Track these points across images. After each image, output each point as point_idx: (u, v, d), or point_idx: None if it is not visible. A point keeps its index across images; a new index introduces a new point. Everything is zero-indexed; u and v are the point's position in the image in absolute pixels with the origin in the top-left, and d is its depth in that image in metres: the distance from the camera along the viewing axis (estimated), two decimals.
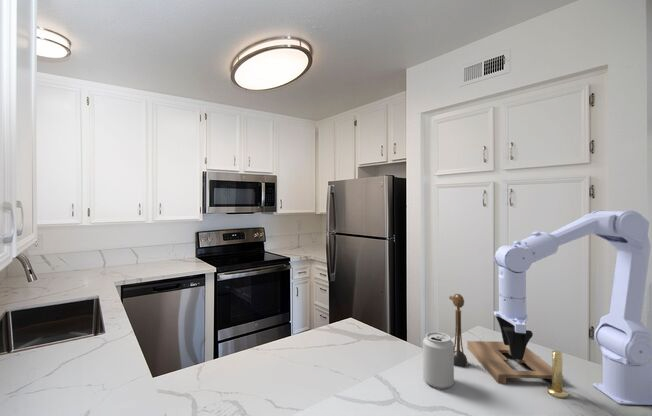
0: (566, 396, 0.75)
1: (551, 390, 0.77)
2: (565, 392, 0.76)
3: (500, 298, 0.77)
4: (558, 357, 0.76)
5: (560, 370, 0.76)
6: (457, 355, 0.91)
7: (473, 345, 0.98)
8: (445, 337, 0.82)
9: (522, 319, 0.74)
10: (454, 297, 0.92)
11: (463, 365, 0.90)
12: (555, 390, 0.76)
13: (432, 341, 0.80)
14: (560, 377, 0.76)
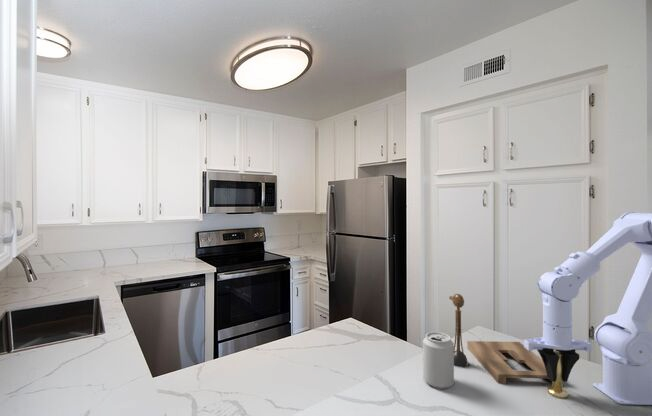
0: (566, 396, 0.75)
1: (551, 390, 0.77)
2: (565, 392, 0.76)
3: None
4: None
5: (560, 370, 0.76)
6: (457, 355, 0.91)
7: (473, 345, 0.98)
8: (445, 337, 0.82)
9: (549, 345, 0.75)
10: (454, 297, 0.92)
11: (463, 365, 0.90)
12: (555, 390, 0.76)
13: (432, 341, 0.80)
14: (560, 377, 0.76)
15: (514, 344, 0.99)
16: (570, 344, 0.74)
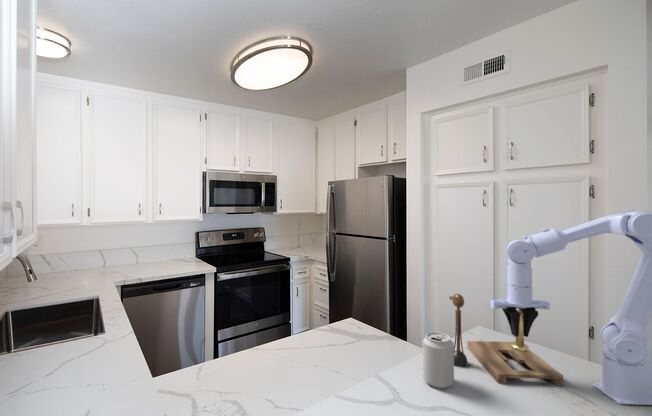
0: (527, 349, 0.84)
1: (514, 345, 0.85)
2: (526, 346, 0.85)
3: None
4: (520, 315, 0.85)
5: (522, 327, 0.85)
6: (457, 355, 0.91)
7: (473, 345, 0.98)
8: (445, 337, 0.82)
9: None
10: (454, 297, 0.92)
11: (463, 365, 0.90)
12: (518, 345, 0.85)
13: (432, 341, 0.80)
14: (522, 333, 0.85)
15: None
16: (530, 302, 0.83)
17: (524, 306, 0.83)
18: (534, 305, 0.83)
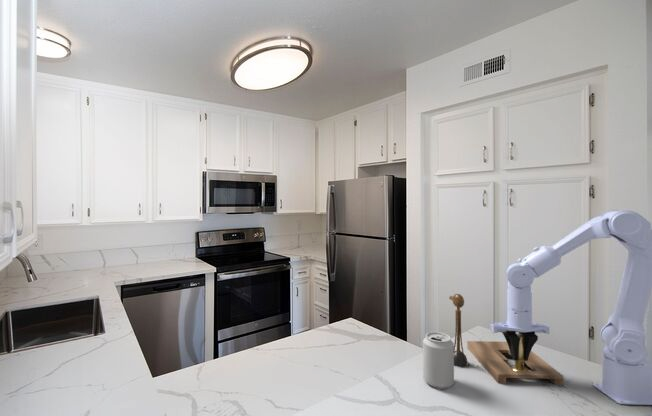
0: None
1: (514, 369, 0.86)
2: (526, 370, 0.85)
3: None
4: (520, 339, 0.85)
5: (522, 351, 0.85)
6: (457, 355, 0.91)
7: (473, 345, 0.98)
8: (445, 337, 0.82)
9: None
10: (454, 297, 0.92)
11: (463, 365, 0.90)
12: (518, 369, 0.85)
13: (432, 341, 0.80)
14: (522, 357, 0.85)
15: None
16: (529, 327, 0.83)
17: (524, 331, 0.83)
18: (534, 329, 0.83)
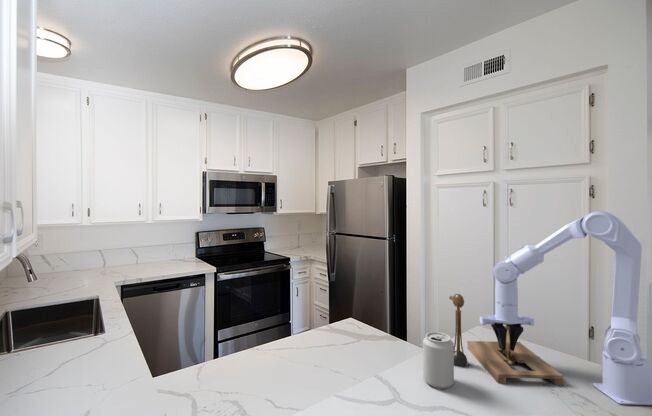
0: (513, 362, 0.91)
1: None
2: (512, 360, 0.91)
3: None
4: (507, 330, 0.91)
5: (509, 341, 0.91)
6: (457, 355, 0.91)
7: (473, 345, 0.98)
8: (445, 337, 0.82)
9: (499, 320, 0.91)
10: (454, 297, 0.92)
11: (463, 365, 0.90)
12: None
13: (432, 341, 0.80)
14: (509, 347, 0.91)
15: None
16: (516, 319, 0.90)
17: (510, 323, 0.90)
18: (519, 321, 0.90)
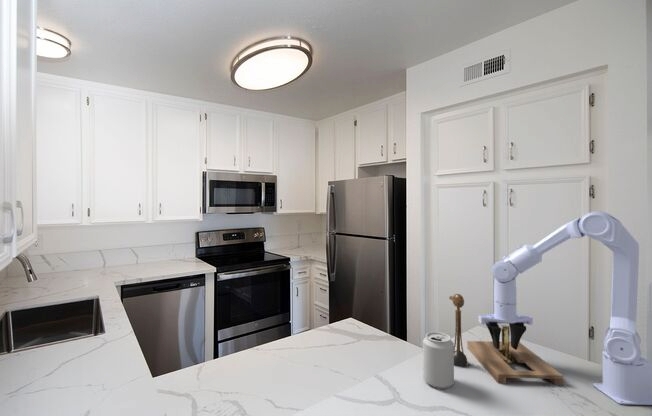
0: (512, 361, 0.92)
1: None
2: (511, 359, 0.92)
3: None
4: (506, 330, 0.92)
5: (507, 341, 0.92)
6: (457, 355, 0.91)
7: (473, 345, 0.98)
8: (445, 337, 0.82)
9: (497, 319, 0.92)
10: (454, 297, 0.92)
11: (463, 365, 0.90)
12: None
13: (432, 341, 0.80)
14: (507, 346, 0.92)
15: None
16: (514, 318, 0.91)
17: (509, 322, 0.90)
18: (518, 321, 0.91)
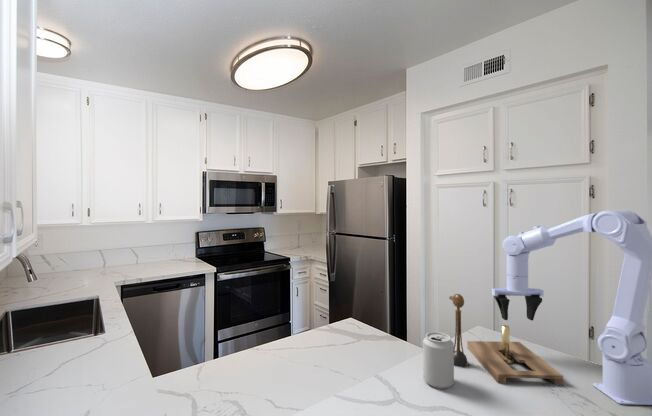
0: (512, 361, 0.92)
1: None
2: (511, 359, 0.92)
3: None
4: (506, 330, 0.92)
5: (507, 341, 0.92)
6: (457, 355, 0.91)
7: (473, 345, 0.98)
8: (445, 337, 0.82)
9: None
10: (454, 297, 0.92)
11: (463, 365, 0.90)
12: None
13: (432, 341, 0.80)
14: (507, 346, 0.92)
15: (514, 344, 0.99)
16: (526, 290, 0.95)
17: (521, 293, 0.95)
18: (530, 292, 0.95)
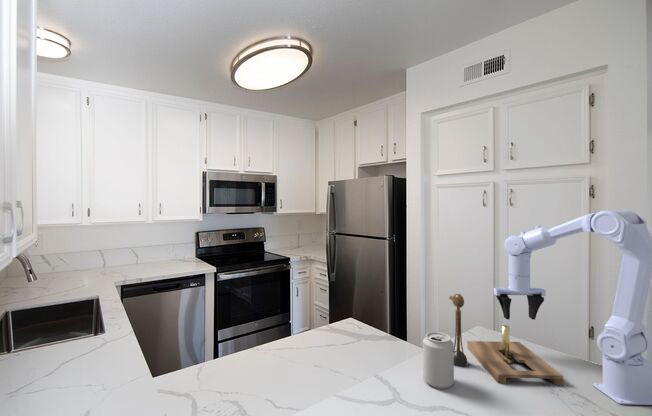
0: (512, 361, 0.92)
1: None
2: (511, 359, 0.92)
3: None
4: (506, 330, 0.92)
5: (507, 341, 0.92)
6: (457, 355, 0.91)
7: (473, 345, 0.98)
8: (445, 337, 0.82)
9: None
10: (454, 297, 0.92)
11: (463, 365, 0.90)
12: None
13: (432, 341, 0.80)
14: (507, 346, 0.92)
15: (514, 344, 0.99)
16: (528, 289, 0.96)
17: (523, 293, 0.95)
18: (532, 292, 0.96)
